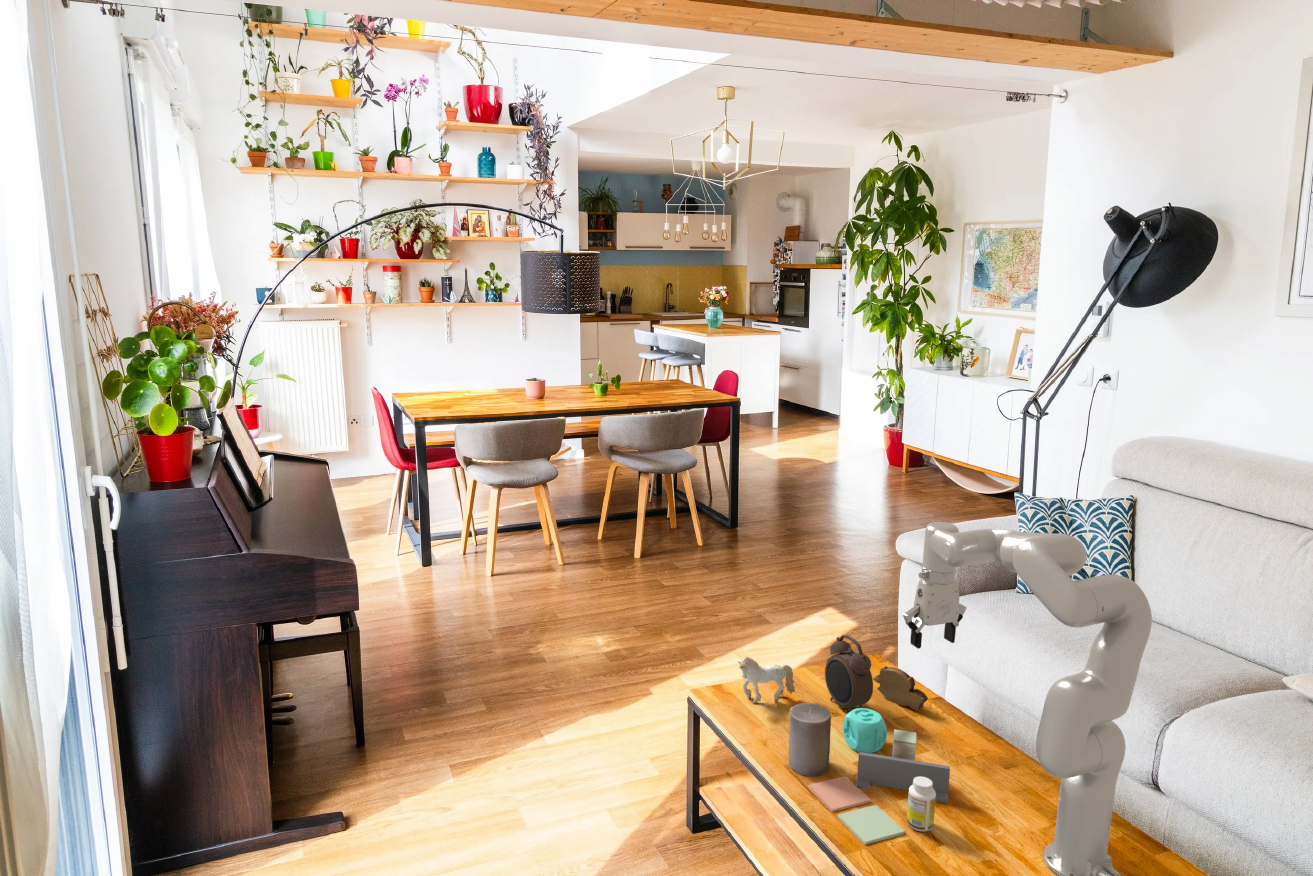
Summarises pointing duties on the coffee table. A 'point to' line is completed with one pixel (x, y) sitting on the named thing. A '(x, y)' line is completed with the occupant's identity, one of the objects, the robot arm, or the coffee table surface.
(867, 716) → the decorative dice
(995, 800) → the coffee table surface
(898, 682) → the wooden carving
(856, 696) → the alarm clock
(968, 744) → the coffee table surface
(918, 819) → the supplement bottle
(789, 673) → the unicorn figurine
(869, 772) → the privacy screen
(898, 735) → the marked post
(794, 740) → the pillar candle
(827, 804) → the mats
